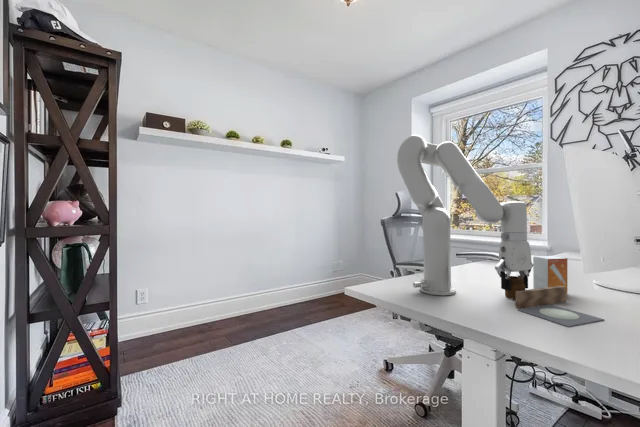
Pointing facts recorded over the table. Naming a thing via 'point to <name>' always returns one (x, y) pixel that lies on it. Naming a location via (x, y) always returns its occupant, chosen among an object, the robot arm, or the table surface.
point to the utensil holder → (515, 286)
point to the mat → (560, 315)
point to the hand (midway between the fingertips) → (514, 288)
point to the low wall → (540, 296)
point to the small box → (549, 272)
